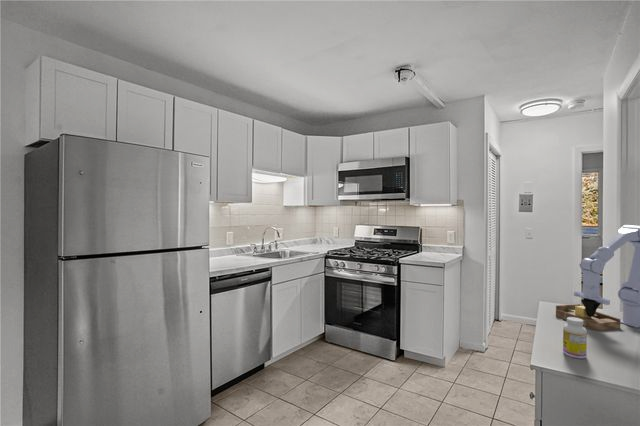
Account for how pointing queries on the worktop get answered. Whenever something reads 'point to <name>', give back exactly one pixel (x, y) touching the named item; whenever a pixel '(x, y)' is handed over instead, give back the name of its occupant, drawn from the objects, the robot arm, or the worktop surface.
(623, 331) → the worktop surface
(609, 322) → the box
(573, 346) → the supplement bottle
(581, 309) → the ochre block
